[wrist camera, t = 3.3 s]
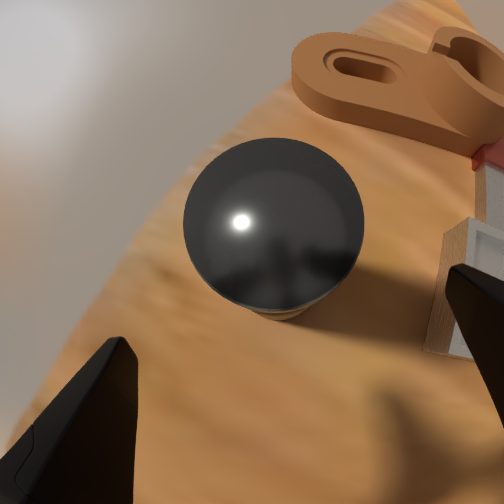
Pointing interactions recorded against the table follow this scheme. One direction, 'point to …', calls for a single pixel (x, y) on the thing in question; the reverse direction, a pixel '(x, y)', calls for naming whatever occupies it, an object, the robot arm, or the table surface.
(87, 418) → the robot arm
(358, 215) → the dark metal cylinder
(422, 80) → the bracket
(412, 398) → the table surface
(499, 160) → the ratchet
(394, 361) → the table surface
